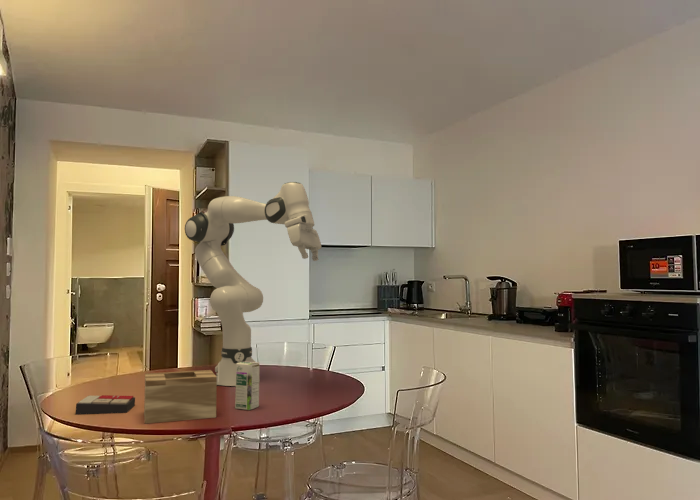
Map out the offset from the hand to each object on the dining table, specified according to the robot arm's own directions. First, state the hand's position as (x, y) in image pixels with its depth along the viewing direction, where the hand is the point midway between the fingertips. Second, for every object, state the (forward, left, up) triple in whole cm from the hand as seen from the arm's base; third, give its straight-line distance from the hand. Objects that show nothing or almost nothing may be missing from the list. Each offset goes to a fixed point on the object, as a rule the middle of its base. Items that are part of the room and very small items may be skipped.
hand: (310, 259), depth 196 cm
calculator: (-3, -67, -49) cm, 83 cm away
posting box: (+12, -45, -49) cm, 68 cm away
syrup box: (+10, -24, -49) cm, 56 cm away
